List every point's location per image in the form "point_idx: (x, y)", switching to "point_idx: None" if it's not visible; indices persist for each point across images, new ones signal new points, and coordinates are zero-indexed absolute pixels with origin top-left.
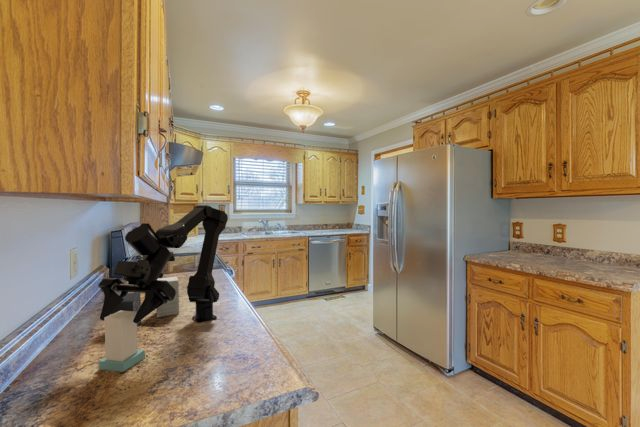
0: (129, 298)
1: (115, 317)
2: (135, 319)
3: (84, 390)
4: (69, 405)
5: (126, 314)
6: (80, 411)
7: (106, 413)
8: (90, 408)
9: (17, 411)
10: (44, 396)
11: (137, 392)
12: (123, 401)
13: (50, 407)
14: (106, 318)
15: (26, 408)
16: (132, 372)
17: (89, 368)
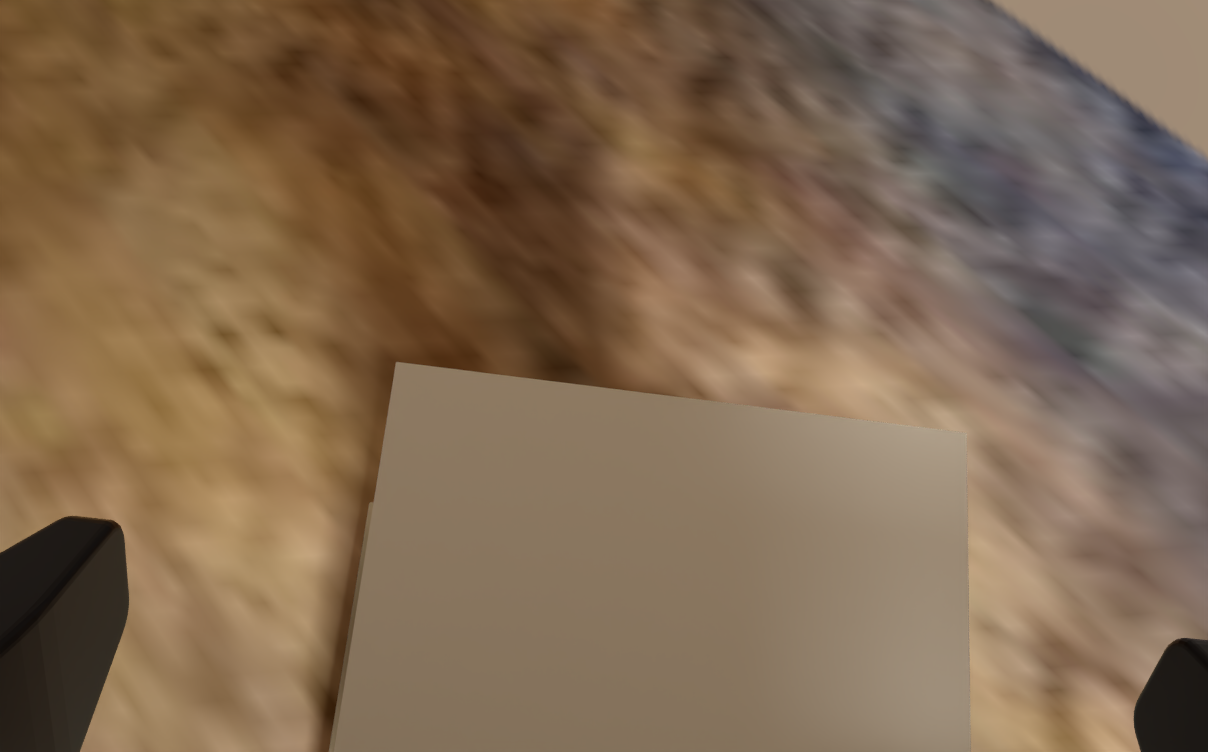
0: None
1: (641, 458)
2: (33, 541)
3: (637, 292)
4: (575, 89)
5: (474, 726)
6: (408, 22)
7: (155, 2)
8: (352, 57)
9: (923, 17)
10: (918, 194)
11: (52, 286)
12: (108, 151)
13: (713, 63)
14: (884, 431)
15: (894, 49)
16: None
17: None
